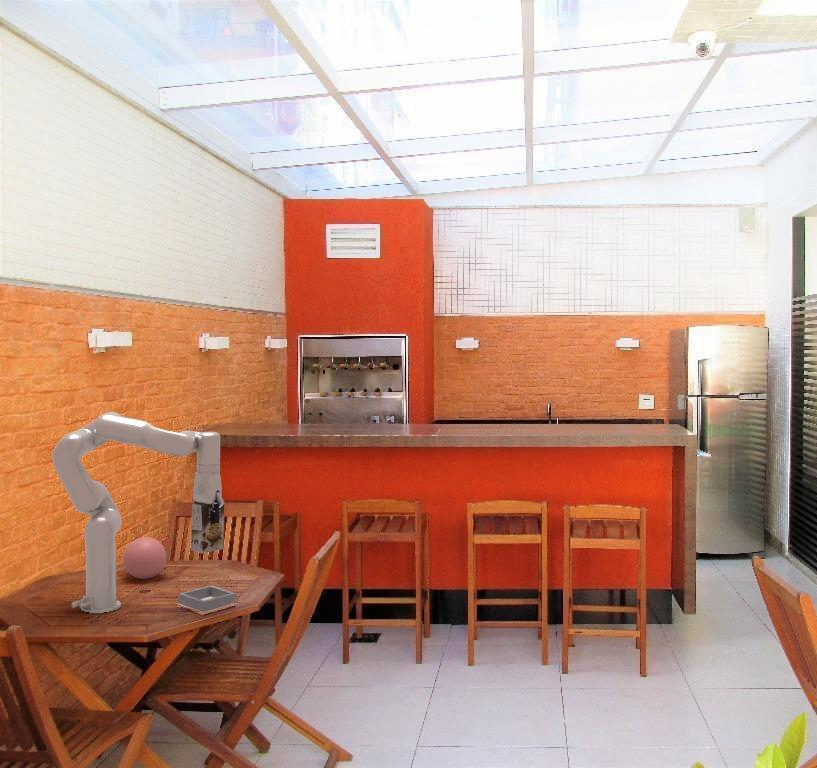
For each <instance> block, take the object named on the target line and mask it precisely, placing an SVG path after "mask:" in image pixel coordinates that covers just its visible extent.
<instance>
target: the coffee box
mask: <svg viewBox="0 0 817 768" xmlns="http://www.w3.org/2000/svg"><path fill="white" fill-rule="evenodd" d="M213 503H214V502H213ZM215 506H216V505H214V508H215ZM210 512H212V511H211V504H204V503H199V502H198V503H195V502H192V503H191V537H190V538H191V539H190V540H191V542H190V551H192V552H196V553H199V554H206V553H207V554H208V553H210V552H215V551H220V550H224V542H225V541H224V539H225V538H224V531H225V530H224V529H225V528H224V527H225V503H224V504H223V506H222V508H221V509H220V511H219V523H216V524H210Z"/></svg>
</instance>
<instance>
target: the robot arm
mask: <svg viewBox="0 0 817 768" xmlns="http://www.w3.org/2000/svg"><path fill="white" fill-rule="evenodd" d="M109 441H111V442H116V443H120V444H124V445H125V444H126V445H130V446H131V445H132V446H136V447H140V448H144V449H146V450H150V451H153V452H156V453H161V454H166V455H170V456H176V457H185V456H189V455H190V454H191V453H193V452H194V453H195V452H196V472H195V474H194V481H193V491H192V492H193V493H192V496H191V497H192V499H193V501H194V502H193V503H198V502H199V503H204V504H211V511H212V512H210V524H216V523H219V511H220V509H221V508H222V506H223V504H224V505H225V501H224V499H223V497H222V493H223V492H222V490H223V489H222V488H223V487H222V478H221V474H220V473H221V435H220V433H219V432H218V431H217V432H216V431H202V432H201V431H193V430H182V431H180V432H177V431H176V432H174V431H170V430H165V429H162V428H158V427H155V426H154V425H152V424H151V423H150V422H149V421H146V420H141V419H136V418H131V417H127V416H126V417H125V416H123V415H121V414H120V413H118V412H115V411H108V412H105V413H102V414H100V415H98V416H97V417H96V419H94V420H93V421H91V422H90V423H88V424H86V425H84V426H83V427H80V428H79V429H75V430H74V431H71V432H69V433H67V434H65V435H63V437H62V438H61V439H59V441H58V442H57V443H56V445H55V447H54V448H53V452H52V464H53V467H54V470H55V472H56V474H57V476H58V478H59V479H60V482H61V483H62V486H63V488H64V490H65V491H66V494H67V496H68V498H69V499H70V502H71V503H72V506H73V508H74V509H75V510H76V511H77V512H79V513H80V514H87V515H88V517H89V519H88V521H87V522H86V524H85V527H84V531H83V536H84V538H83V539H84V546H85V595H82V598H81V599H80V600H75V601H72V602H71V607H72V608H73V609H74V608H75V609H76V608H77V607H79V608H80V610H81V611H82V612H83V611H84V613H86V612H89V613H88V614H105V613H104V612H107V613H110V611H111V612H114V610H115V611H117V610H119V609H120V608H121V607H122V602H121V601H120V600H119V599H117V545H116V535H117V533H118V532H119V531H120V529H121V528H122V525H123V520H122V519H123V518H122V515H121V513H120V510H119V509H118V507H117V505H116V503H115V501H114V500H113V498H112V495H111V493H110V491H109V490H108V488H107V487H106V486H105V485H104V484H103V483H102V482H100V481H97V480H92V478H91V476H90V475H89V472H88V470H87V469H86V467H85V466H84V464H83V463H82V460H81V458H82V456H85V455H87V454H88V453H90V452H92V451H94V450H95V449H97V448H99V447H100V446H102V445H104V444H107V443H108V442H109ZM213 502H214V503H213ZM214 505H216V506H215V508H214Z"/></svg>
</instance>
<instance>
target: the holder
mask: <svg viewBox="0 0 817 768" xmlns="http://www.w3.org/2000/svg"><path fill="white" fill-rule="evenodd" d="M236 596H237V593H236V592H233V591H230V590H227V589H223V588H221V587H218V586H214V585H212V584H211V585H208V586H207V585H206V586H202V587H200V588H194V589H191V590H188V591H187V590H186V591H183V592H180V593H178V606H179V605H181V606H184V607H187V608H191V609H195V610H198V611H201V612H206V611H209V610H213V609H216V608H219V607H223V606H226V605H228V604H231V603H234V602H236V603H237V597H236Z"/></svg>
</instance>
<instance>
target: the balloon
mask: <svg viewBox="0 0 817 768" xmlns="http://www.w3.org/2000/svg"><path fill="white" fill-rule="evenodd" d="M122 558H123V559H122V560H123V566H124V568H125V570H126V572H127V573H128V574H129V575H130V576H131V577H133V578H136V579H140V580H148V579H152V578H154V577H156V576H158V575H159V574H160V573H161V572H162V570H164V567H165V565H166V563H167V552H166V549H165V547H164V546H163V544H162V543H161V541H159V540H158V539H156V538H154V537H148V536H143V537H139V538H136V539H134V540H133V541H132V542H130V543H129V544H128V545H127V547H126V549H125V550H124V552H123V556H122Z"/></svg>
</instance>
